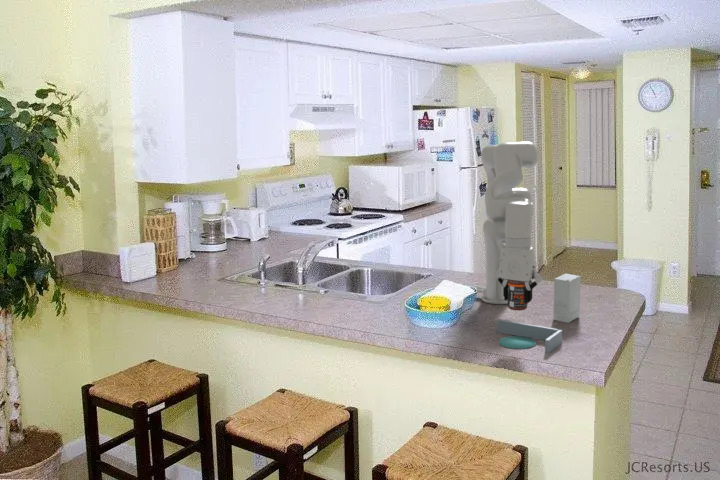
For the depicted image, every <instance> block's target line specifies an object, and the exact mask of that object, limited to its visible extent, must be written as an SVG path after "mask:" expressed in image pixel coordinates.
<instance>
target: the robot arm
mask: <svg viewBox="0 0 720 480" xmlns="http://www.w3.org/2000/svg"><path fill="white" fill-rule="evenodd" d="M480 155H481V156H480V157H481V162H482V166H483V168H484V171H485V173H486V178H487V181H486V182H487V187H486V189H485V193H484V204H485V205H484V206H485V213H486V217H487V219H486V220H485V221H484V222H483V225H482V232H483V239H484V248H485V287H483V286H476V293H479V294H482V295H481V301H482V302H484V303H487V304H491V305H492V304H493V305H508V280H512V281H520V282H524V283H525V286H526V290H525V303H527V304H528V303H531V302H532V300H533V289H535V288H536V287H537V286H538V285H539V284H540V283H541V282H543V280H544V278H543V277H542V276H541V275H540V273H539V272H538V271H537V270H536V269H537V268H536V257H535V252H534V248H533V247H532V226H533V225H532V222H533V220H532V219H533V216H534V204H533V197H532V194H531V191H530V190H529V189H527V188H524V187H518V186H520V185H521V183H522V182H523V180H524V174H523V169H530V168H531V169H532V168H535V166H537V163H538V159H539V153H538V149H537V147H536V145H535V143H533V142H531V141H515V142H514V141H513V142H510V141H509V142H502V143H499V144H491V145H485V146H484V147H483V148H482V149H481V154H480ZM534 279H535V280H534ZM533 280H534V281H533Z"/></svg>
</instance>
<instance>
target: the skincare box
mask: <svg viewBox="0 0 720 480" xmlns="http://www.w3.org/2000/svg"><path fill="white" fill-rule="evenodd" d="M553 287H554V288H553V318H552V319H553V320H554V321H558V322H564V323H568V324H569V323H571V322H572V321H574V320H576V319H577V318H579V317H580V309H581V308H580V301H581V275H577V274H570V273H563V274H562V275H560V276H557V277H555V278H554V285H553Z"/></svg>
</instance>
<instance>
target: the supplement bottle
mask: <svg viewBox="0 0 720 480" xmlns="http://www.w3.org/2000/svg"><path fill="white" fill-rule="evenodd" d="M525 290H526V286H525V283H524V282H520V281H512V280H508V304H507V308H508V309H510V310H511V311H525V310H527V309H528V303H525Z"/></svg>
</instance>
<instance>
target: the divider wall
mask: <svg viewBox="0 0 720 480" xmlns="http://www.w3.org/2000/svg"><path fill="white" fill-rule="evenodd" d="M496 332H497V333H501V334H508V335H512V336H521V337H527V338H531V339H535V340H542V341H544V353H545V354H550V353H551V352H552V351H553V350H555V349H556V348H558V346H560V345H561V344H562V343H563V329H558V328H555V327H549V326H541V325H535V324H530V323H525V322H523V323H522V322H518V321H510V320H505V319H497V320H496Z"/></svg>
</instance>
